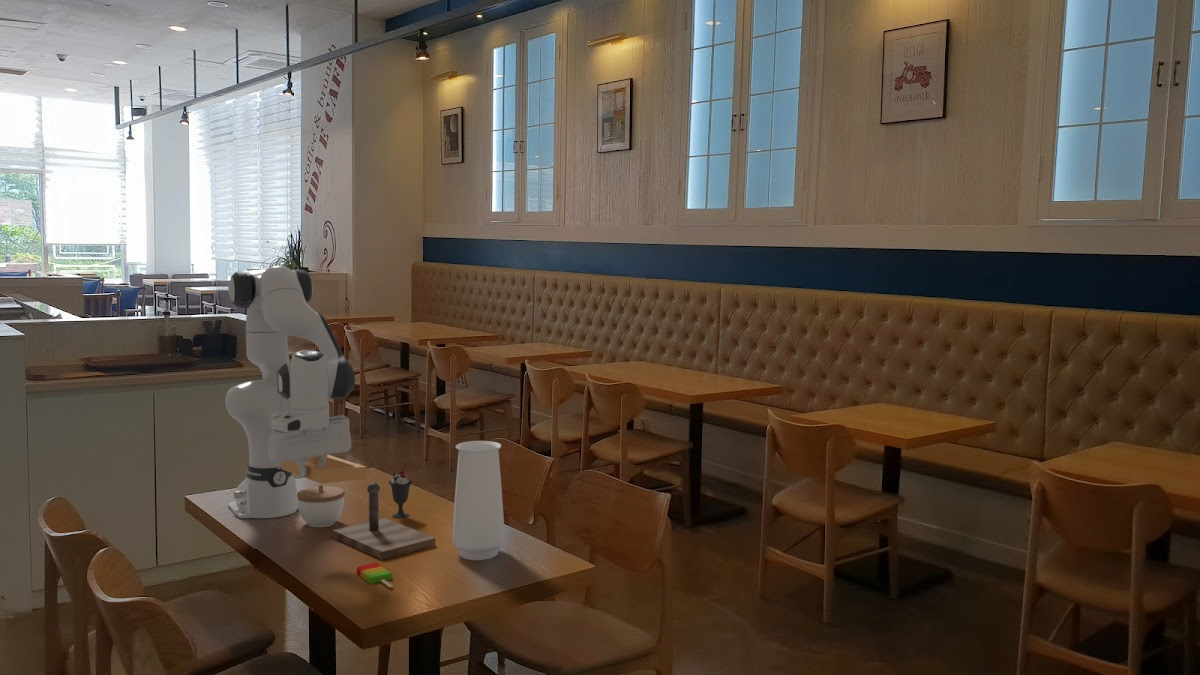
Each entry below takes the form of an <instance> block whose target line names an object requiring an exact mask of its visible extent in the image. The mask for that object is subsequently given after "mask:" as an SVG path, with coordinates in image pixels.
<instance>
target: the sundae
mask: <svg viewBox="0 0 1200 675" xmlns="http://www.w3.org/2000/svg"><path fill="white" fill-rule="evenodd" d="M406 468H407V466H406V465H404V466H403V468H402V469H401V470H400V471H399V472H394V473H393V476H392V477H393V478H392V480H388V485H389V486H391V493H392V499H393V502H394V503H396V504H397V505H398V510H397V513H394V514H392V515H391V517H392V518H393V517H394V518H393V519H398V518H401V519H407V518H409V517H410V513H407V512H406V513H405V511H404V508H403V506H404V504H405V503H406V502H407V501H408V498H409V494H410V493H409V492H410V488H411V484H412V483H413V481H412V480H411V479H408V476H407V474H406V473H405V469H406ZM408 516H409V517H408ZM406 517H407V518H406Z"/></svg>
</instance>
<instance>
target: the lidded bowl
mask: <svg viewBox="0 0 1200 675" xmlns="http://www.w3.org/2000/svg"><path fill="white" fill-rule="evenodd" d="M345 494H346V493H345V489H344V488H343V487H339V486H333V485H324V484H318V486H311V487H306V488H304V489H301V490H299V491H297V498H298V507H299V508H298V511H299V515H300V516H301V519H302V520H303V521H304V522H305V523H306V524H307V525H308V527H311V528H327V527H331V526H333V525H335V524H336V522H337V520H339V519H340V517H341V516H342V513H343V510H344V505H345Z"/></svg>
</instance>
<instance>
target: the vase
mask: <svg viewBox="0 0 1200 675" xmlns="http://www.w3.org/2000/svg"><path fill="white" fill-rule="evenodd" d="M501 448H502V444H501V443H499V442H496V441H490V440H471V441H470V440H469V441H468V440H467V441H463V442H459V443H458V444H456V445H455V449H457V450H458V456H457V468H456V479H455V494H454V504H453V505H454V506H453V507H454V508H453V522H452V523H453V524H452V526H453V527H452V543H453V545H454V547H456V548H457V551H458V555H459V557H460V558H462V559H464V560H468V561H485V560H486V559H487V560H490V559H493V557H494V558H495V557H497V556H498V555H499V550H500V547H501V546H502V545H503V544H504V542H505V521H504V519H505V518H504V506H503V491H502V477H501V466H500V465H501V464H500V453H499V450H500V449H501Z"/></svg>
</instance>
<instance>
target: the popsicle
mask: <svg viewBox="0 0 1200 675" xmlns="http://www.w3.org/2000/svg"><path fill="white" fill-rule="evenodd" d="M356 575H358V576H359V577H361V578H362V579H363V580H364V581H365V582H367V583H368V584H369V583H370V584H369V585H372V583H373V584H377V583H382V584H383V585H385V586H386V587H387V588H388V589H393V588H394V585H392V584H391V583H390V582H389V581H390V579H391V580H393V574H392V572H390V571H389V570H388V569H386V568H384V567H383V566H382V565H381V564H379V563H377V562H372V563H368V564H362V565H359V566H357V567H356ZM386 580H387V581H386ZM380 581H381V582H380ZM376 582H377V583H376Z"/></svg>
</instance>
